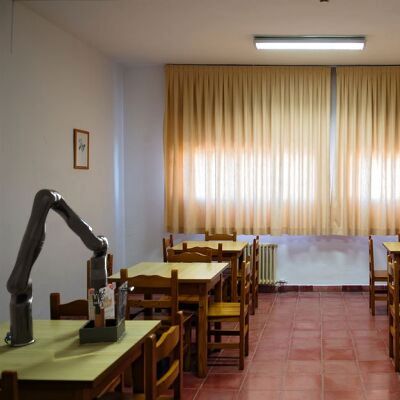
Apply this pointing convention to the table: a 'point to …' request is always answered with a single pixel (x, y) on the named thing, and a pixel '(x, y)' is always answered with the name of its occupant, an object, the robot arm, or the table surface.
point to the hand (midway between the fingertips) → (99, 312)
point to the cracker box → (107, 303)
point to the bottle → (100, 318)
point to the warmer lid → (122, 302)
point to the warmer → (101, 332)
